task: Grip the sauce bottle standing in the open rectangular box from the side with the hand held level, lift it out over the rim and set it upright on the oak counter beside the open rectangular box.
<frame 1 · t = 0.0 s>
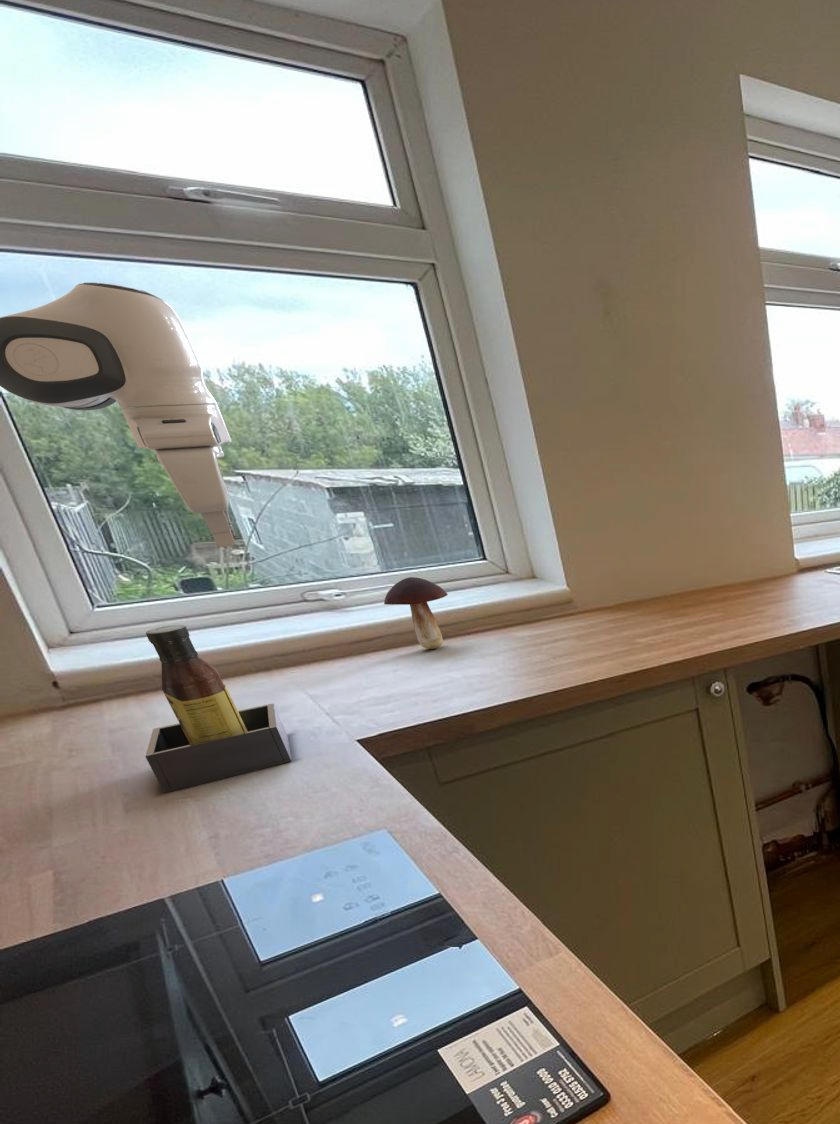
hand: (227, 542, 107), 31 cm above the worktop, tool pointing down, fingers open, 8 cm apart
open rectangular box: (230, 762, 118), on the worktop
decorative mushroom: (433, 649, 169), on the worktop
sauce bottle: (229, 760, 118), resting on open rectangular box
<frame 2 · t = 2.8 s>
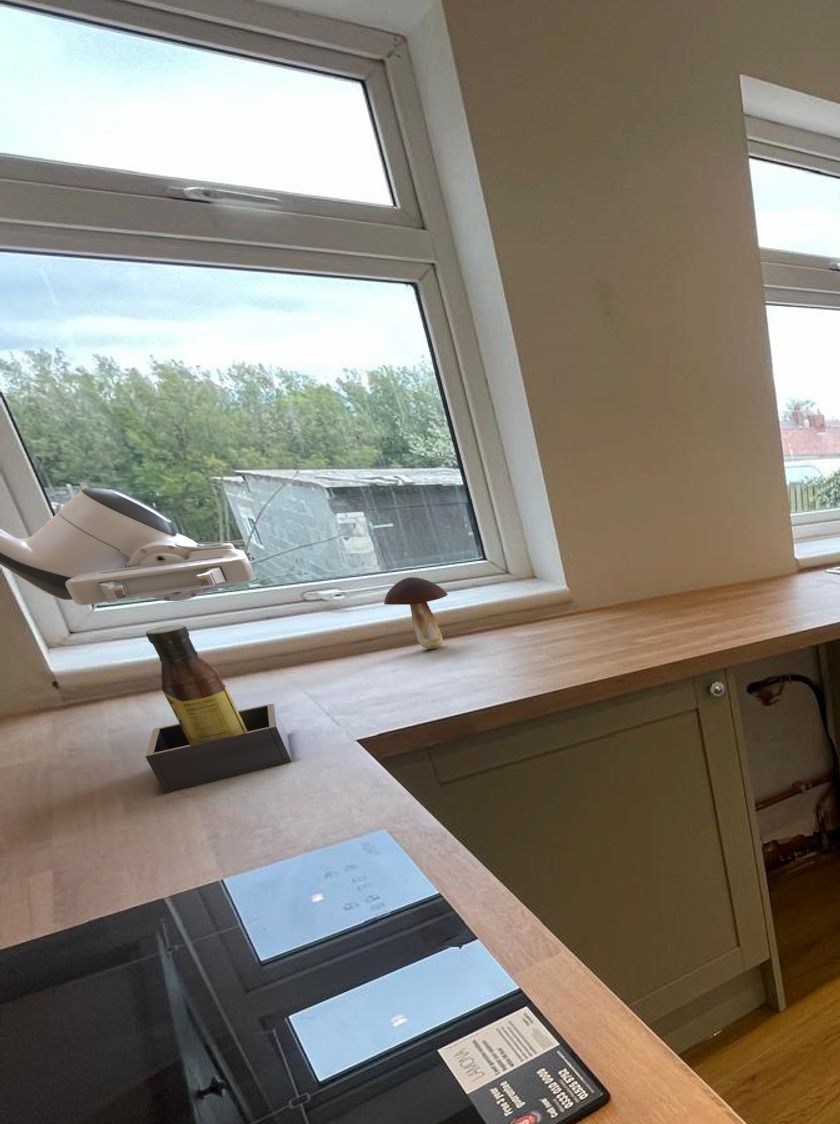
hand: (162, 587, 117), 24 cm above the worktop, tool horizontal, fingers open, 8 cm apart
nothing on the worktop moved.
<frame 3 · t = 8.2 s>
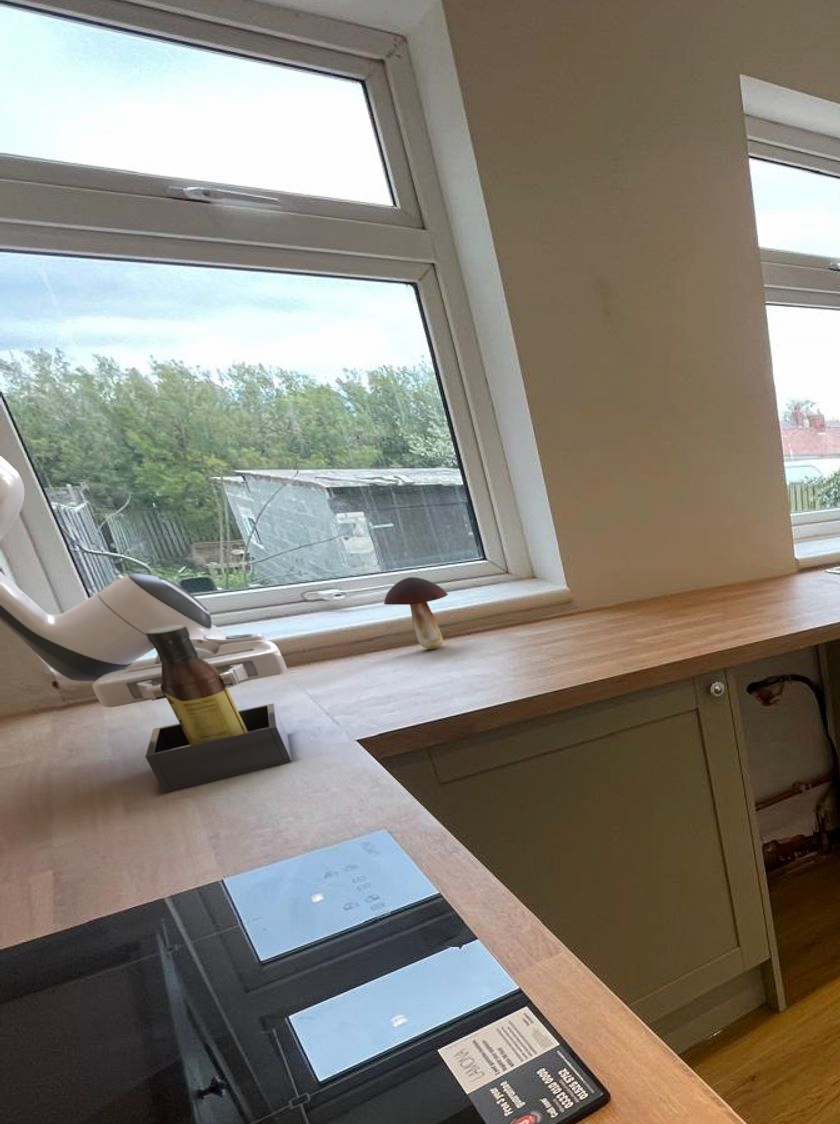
hand: (193, 686, 113), 12 cm above the worktop, tool horizontal, fingers closed on sauce bottle, 6 cm apart
sauce bottle: (229, 760, 118), resting on open rectangular box, touching gripper
everything else where it was.
when the fingers open (11 cm above the worktop, at t = 18.1 s): sauce bottle stays where it is, on the worktop.
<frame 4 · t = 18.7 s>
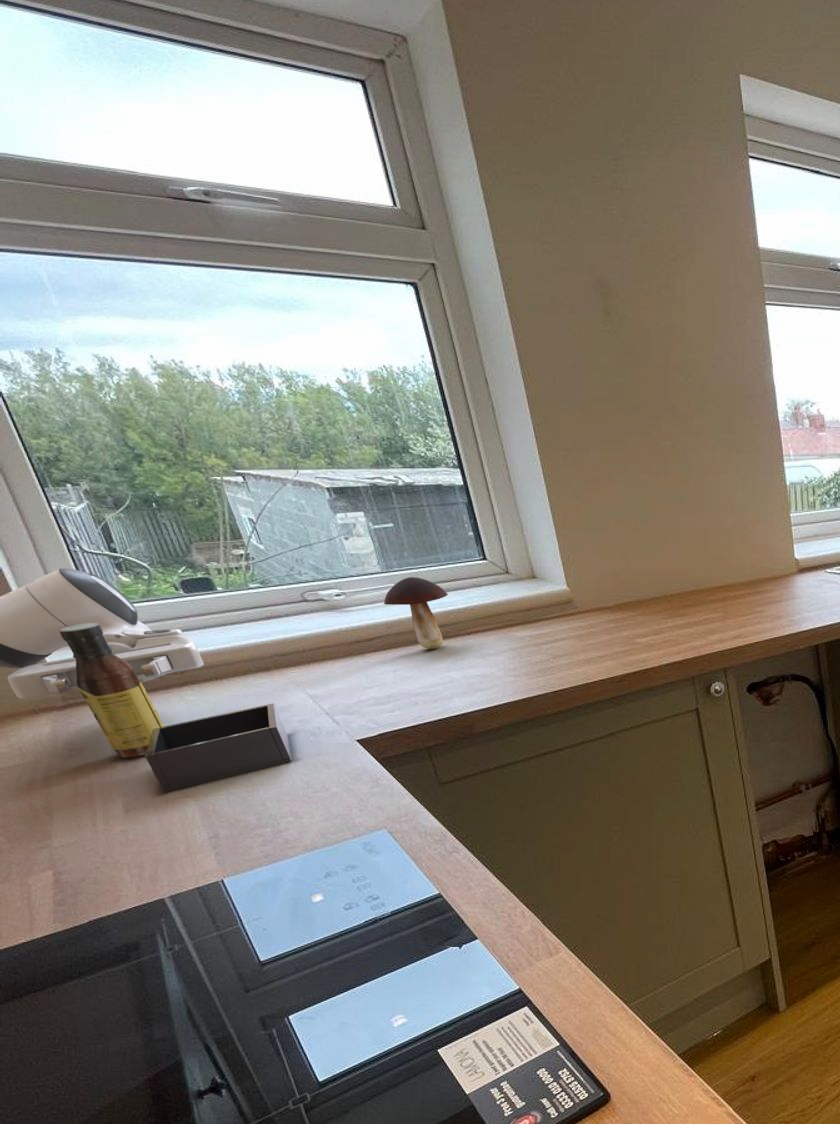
hand: (106, 679, 118), 12 cm above the worktop, tool horizontal, fingers open, 8 cm apart
sauce bottle: (146, 752, 124), on the worktop
everything else where it was.
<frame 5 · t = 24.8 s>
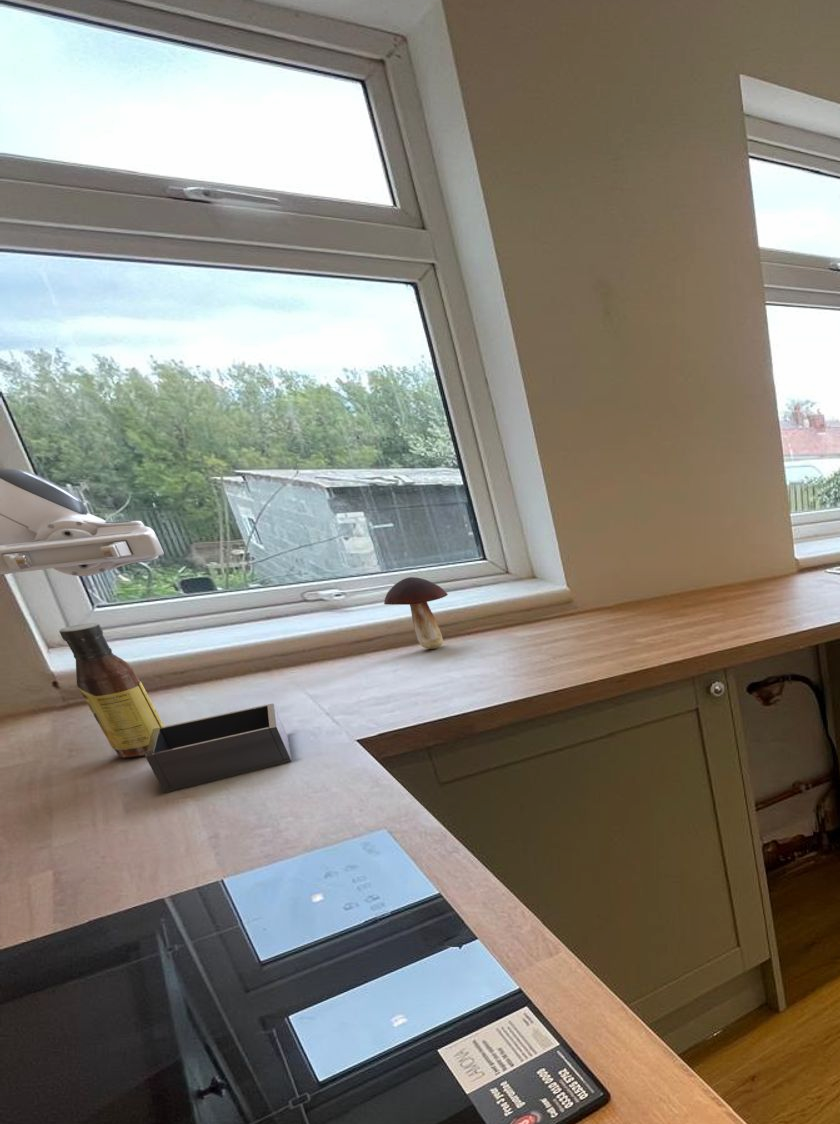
hand: (65, 557, 121), 28 cm above the worktop, tool horizontal, fingers open, 8 cm apart
nothing on the worktop moved.
at the end: sauce bottle inside the target area (0.0 cm from its centre), on the worktop; sauce bottle tilted 0°; the gripper is holding nothing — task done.
